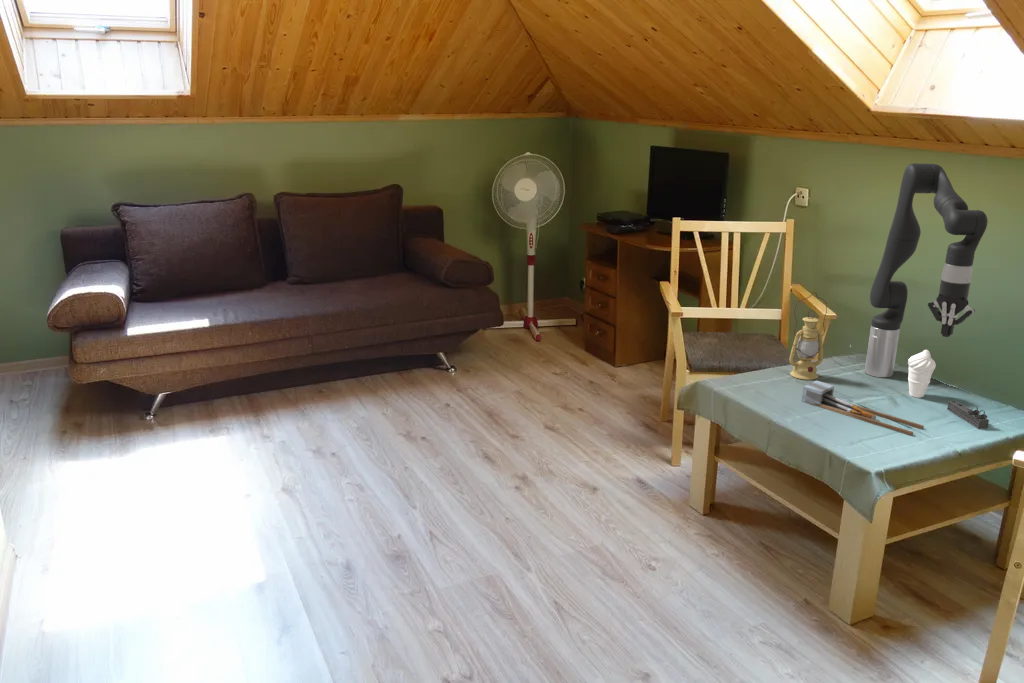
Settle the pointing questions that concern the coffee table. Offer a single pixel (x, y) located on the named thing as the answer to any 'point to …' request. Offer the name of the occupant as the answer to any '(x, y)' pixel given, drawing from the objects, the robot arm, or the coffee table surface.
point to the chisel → (857, 410)
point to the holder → (817, 389)
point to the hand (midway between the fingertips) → (946, 336)
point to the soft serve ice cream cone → (920, 373)
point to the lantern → (807, 348)
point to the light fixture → (969, 414)
